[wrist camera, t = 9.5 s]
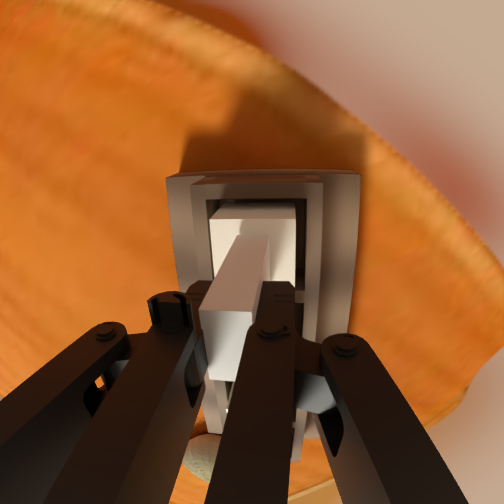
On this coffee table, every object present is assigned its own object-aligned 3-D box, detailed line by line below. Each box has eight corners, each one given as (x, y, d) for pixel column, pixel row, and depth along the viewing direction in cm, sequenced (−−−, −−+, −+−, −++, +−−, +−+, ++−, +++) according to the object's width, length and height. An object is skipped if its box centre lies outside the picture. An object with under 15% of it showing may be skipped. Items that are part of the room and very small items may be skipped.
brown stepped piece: (178, 172, 21) (145, 186, 16) (352, 169, 20) (373, 182, 15) (213, 415, 30) (202, 454, 25) (325, 420, 29) (326, 461, 24)
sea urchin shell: (201, 477, 34) (173, 493, 27) (195, 427, 37) (165, 434, 30) (265, 479, 32) (247, 499, 25) (259, 425, 36) (240, 435, 28)
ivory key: (224, 202, 18) (209, 219, 15) (294, 202, 17) (295, 219, 14) (228, 266, 19) (216, 294, 16) (294, 267, 19) (294, 296, 15)
